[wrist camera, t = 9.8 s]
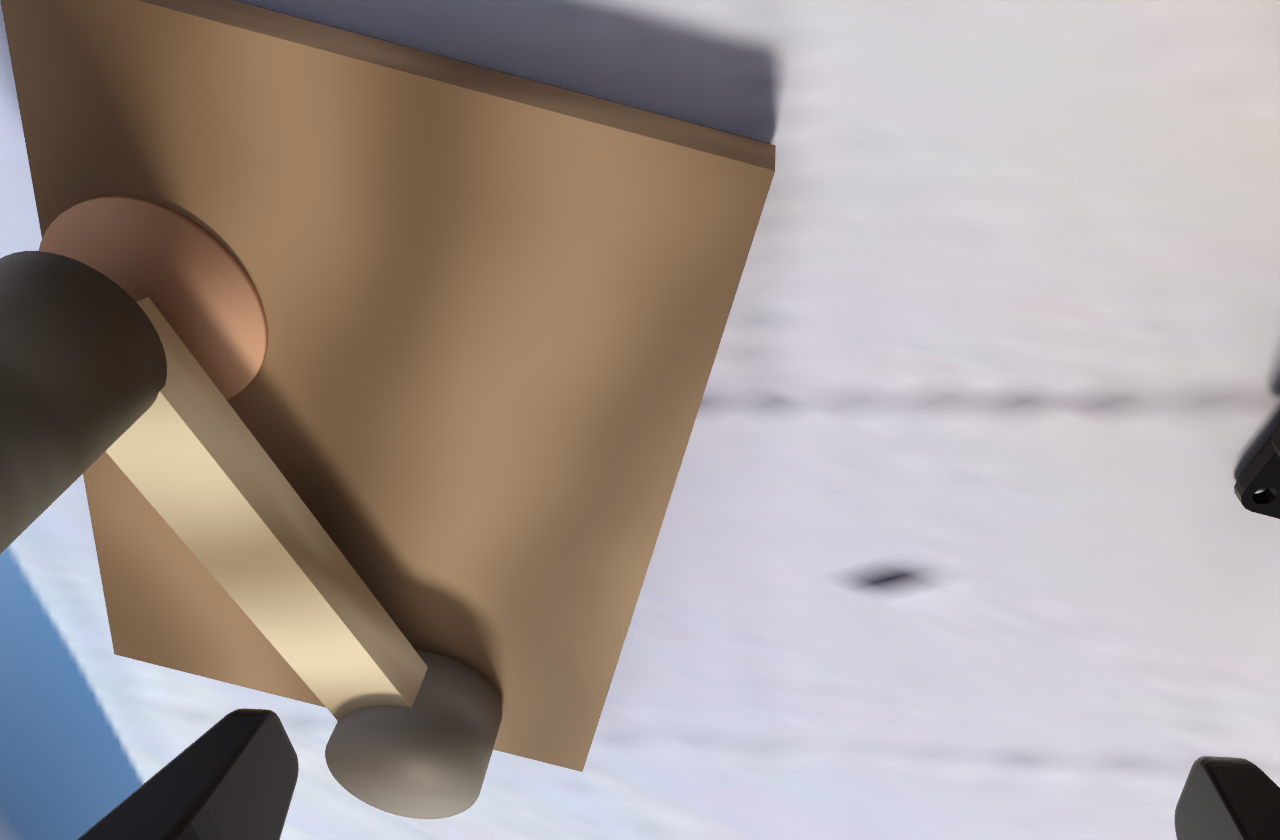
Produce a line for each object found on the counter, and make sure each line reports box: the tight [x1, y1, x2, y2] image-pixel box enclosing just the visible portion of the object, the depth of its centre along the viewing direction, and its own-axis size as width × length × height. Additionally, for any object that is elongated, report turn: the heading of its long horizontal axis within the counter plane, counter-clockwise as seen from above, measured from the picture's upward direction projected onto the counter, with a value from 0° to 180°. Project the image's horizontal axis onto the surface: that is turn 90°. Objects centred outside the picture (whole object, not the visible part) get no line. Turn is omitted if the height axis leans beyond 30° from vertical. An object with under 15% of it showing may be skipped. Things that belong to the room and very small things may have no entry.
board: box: [1, 0, 775, 772], centre depth 23 cm, size 15×20×2 cm
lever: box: [0, 251, 502, 819], centre depth 21 cm, size 18×4×8 cm, turn 23°
